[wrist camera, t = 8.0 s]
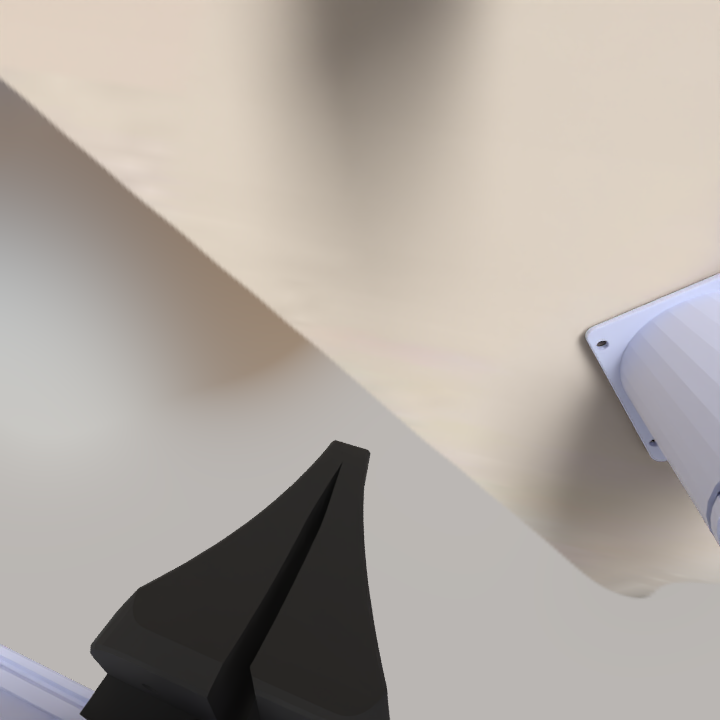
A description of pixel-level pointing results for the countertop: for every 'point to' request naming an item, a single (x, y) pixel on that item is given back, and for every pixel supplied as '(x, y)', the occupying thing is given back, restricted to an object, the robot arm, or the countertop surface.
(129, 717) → the robot arm
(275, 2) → the countertop surface
